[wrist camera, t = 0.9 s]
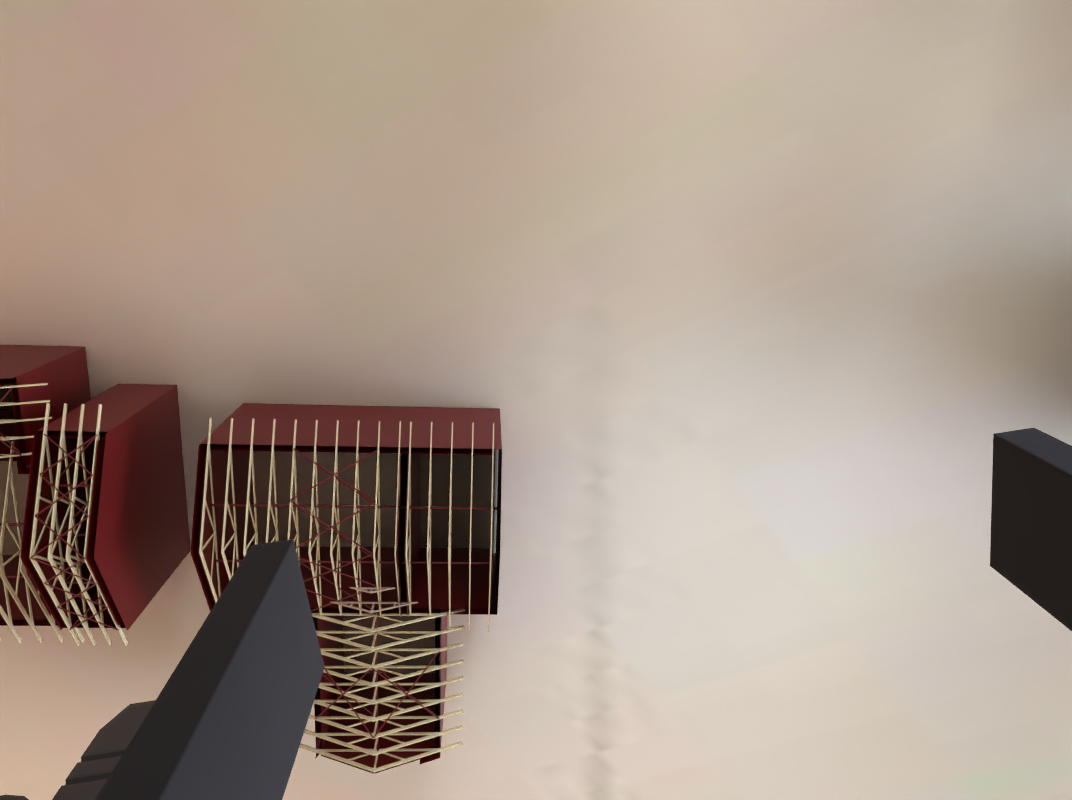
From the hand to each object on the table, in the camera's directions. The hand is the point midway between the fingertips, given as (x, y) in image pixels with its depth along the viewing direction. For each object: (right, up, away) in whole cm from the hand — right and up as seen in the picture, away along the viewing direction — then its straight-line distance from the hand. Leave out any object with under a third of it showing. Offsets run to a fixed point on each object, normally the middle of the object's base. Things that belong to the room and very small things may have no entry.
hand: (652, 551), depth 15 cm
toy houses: (-27, -4, +28) cm, 39 cm away
